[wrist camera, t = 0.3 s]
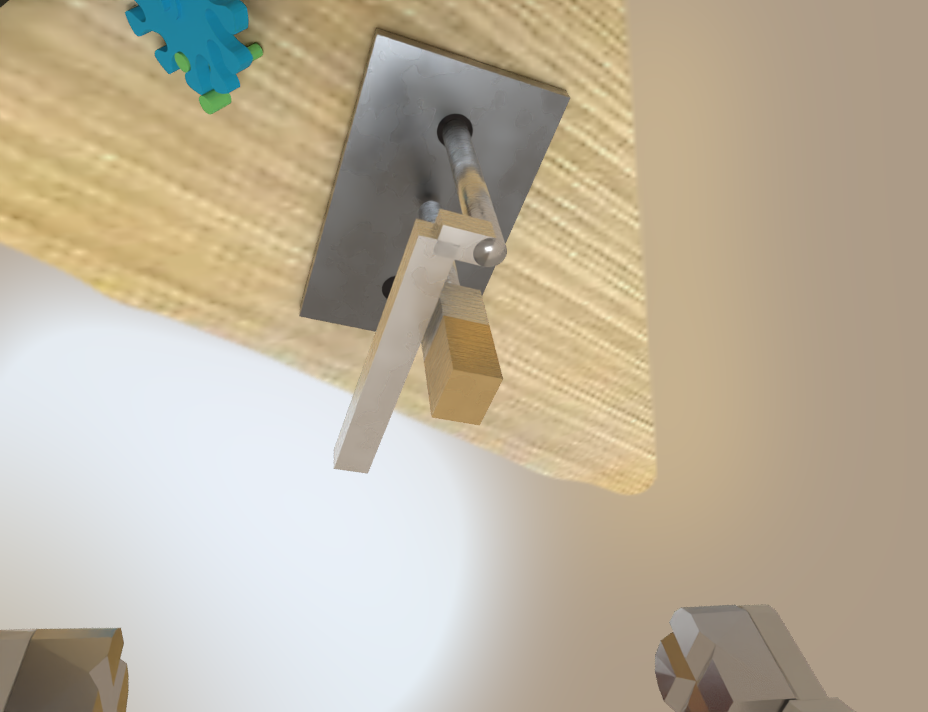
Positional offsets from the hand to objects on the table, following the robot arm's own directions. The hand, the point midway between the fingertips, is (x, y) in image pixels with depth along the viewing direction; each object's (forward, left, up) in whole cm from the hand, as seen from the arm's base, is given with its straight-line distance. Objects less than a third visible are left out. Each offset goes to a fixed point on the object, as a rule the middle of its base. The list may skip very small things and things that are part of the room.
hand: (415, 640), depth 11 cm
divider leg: (+11, +8, -37) cm, 39 cm away
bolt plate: (+12, +8, -39) cm, 41 cm away
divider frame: (+14, +6, -38) cm, 41 cm away
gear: (+3, -8, -39) cm, 40 cm away
